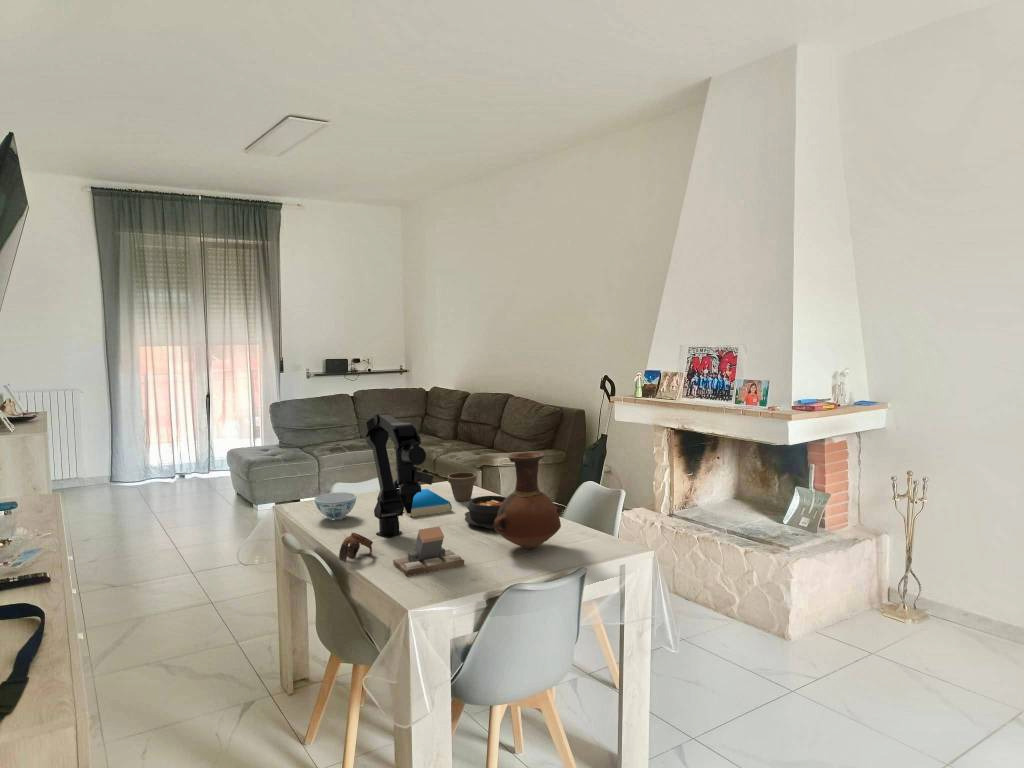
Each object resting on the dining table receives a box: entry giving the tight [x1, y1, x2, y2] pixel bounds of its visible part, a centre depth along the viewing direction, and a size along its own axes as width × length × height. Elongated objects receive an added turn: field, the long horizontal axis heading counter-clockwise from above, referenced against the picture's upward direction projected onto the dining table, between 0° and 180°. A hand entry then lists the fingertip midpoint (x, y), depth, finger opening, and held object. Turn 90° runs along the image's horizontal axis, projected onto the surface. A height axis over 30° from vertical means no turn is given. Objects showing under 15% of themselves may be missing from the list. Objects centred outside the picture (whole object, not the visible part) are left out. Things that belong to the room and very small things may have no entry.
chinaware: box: [314, 491, 357, 520], centre depth 258 cm, size 15×15×8 cm
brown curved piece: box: [338, 532, 374, 562], centre depth 214 cm, size 12×10×8 cm
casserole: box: [464, 495, 507, 530], centre depth 248 cm, size 25×19×8 cm
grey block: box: [413, 525, 445, 560], centre depth 206 cm, size 4×7×10 cm
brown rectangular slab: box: [392, 547, 465, 577], centre depth 207 cm, size 11×18×4 cm, turn 119°
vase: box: [493, 451, 562, 550], centre depth 220 cm, size 25×20×30 cm
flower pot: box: [447, 471, 477, 502], centre depth 282 cm, size 12×11×10 cm
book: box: [403, 488, 453, 517], centre depth 272 cm, size 17×4×25 cm
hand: (409, 513), depth 221 cm, fingers closed
